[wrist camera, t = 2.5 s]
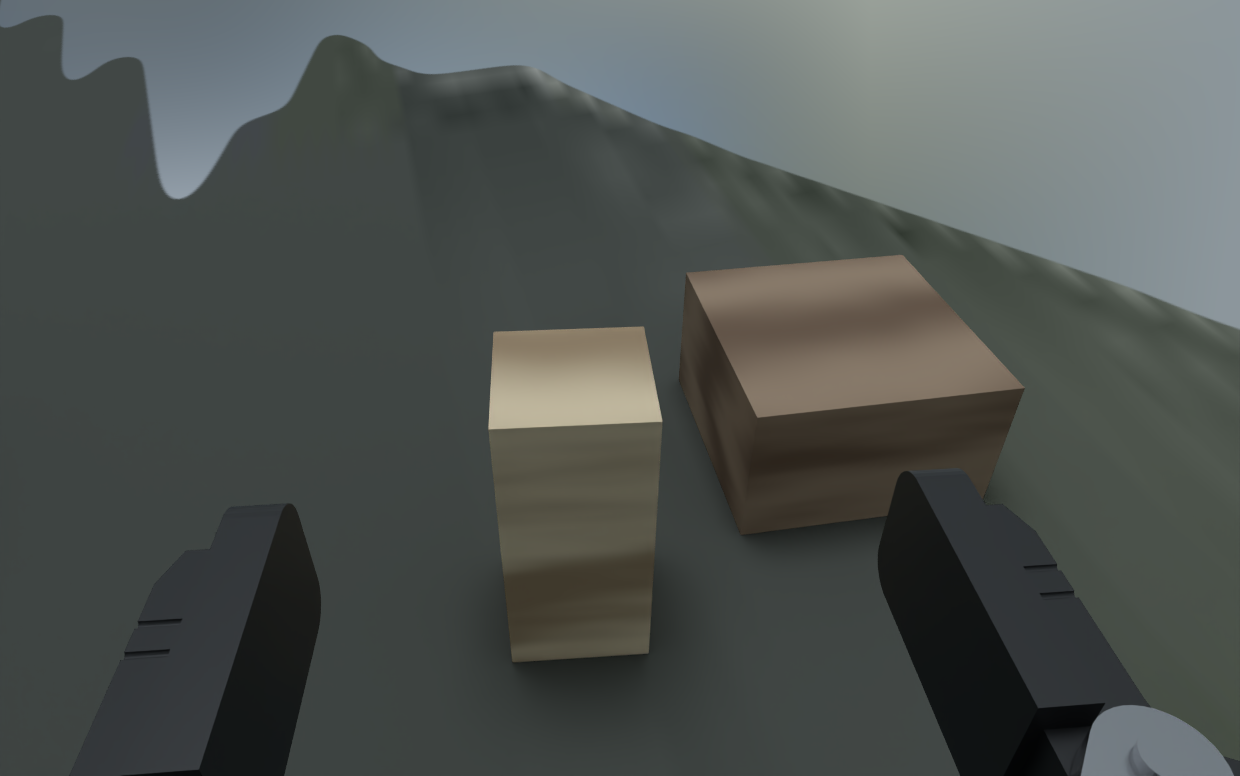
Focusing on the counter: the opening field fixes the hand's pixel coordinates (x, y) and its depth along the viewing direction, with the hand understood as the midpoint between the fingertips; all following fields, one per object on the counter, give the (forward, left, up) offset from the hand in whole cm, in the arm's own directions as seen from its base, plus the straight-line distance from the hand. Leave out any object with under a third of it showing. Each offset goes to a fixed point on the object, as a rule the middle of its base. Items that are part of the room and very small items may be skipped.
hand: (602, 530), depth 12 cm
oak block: (+4, +11, -16) cm, 19 cm away
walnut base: (+17, +15, -16) cm, 27 cm away
